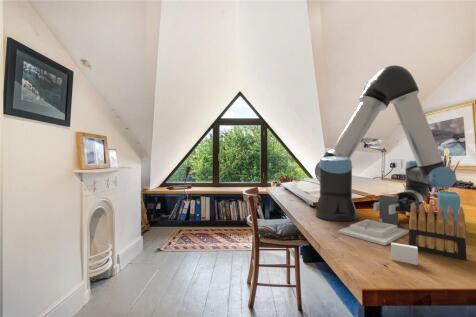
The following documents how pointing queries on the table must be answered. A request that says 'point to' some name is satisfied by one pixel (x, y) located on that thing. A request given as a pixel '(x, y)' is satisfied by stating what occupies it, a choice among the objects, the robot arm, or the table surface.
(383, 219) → the grey upright block
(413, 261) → the eraser
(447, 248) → the ammunition clip
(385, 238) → the dock tray
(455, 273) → the table surface
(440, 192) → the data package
